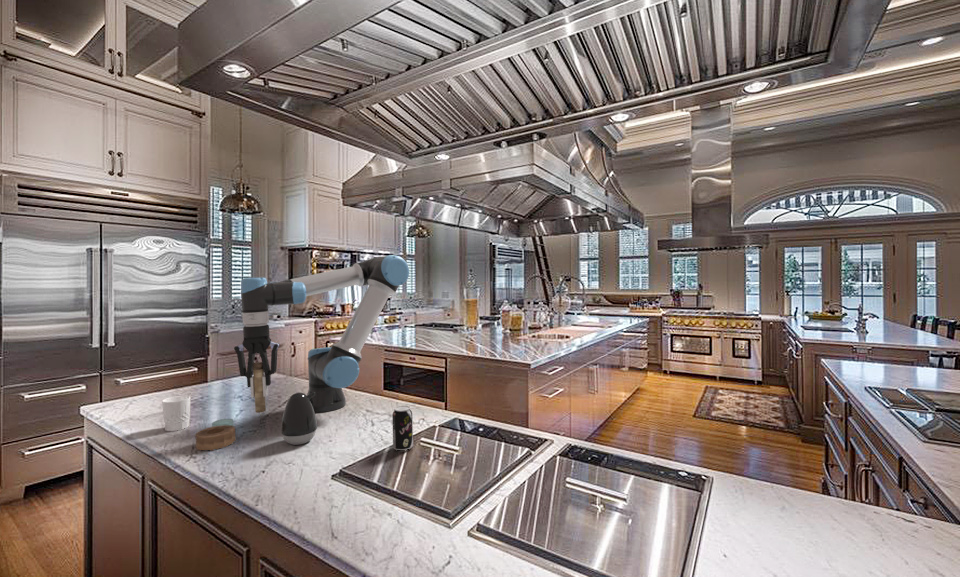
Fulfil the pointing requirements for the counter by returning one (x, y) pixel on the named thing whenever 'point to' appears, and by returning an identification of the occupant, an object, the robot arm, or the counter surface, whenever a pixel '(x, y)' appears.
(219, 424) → the small bead
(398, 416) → the beverage can
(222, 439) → the wooden peg base
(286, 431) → the black egg shaped speaker
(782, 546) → the counter surface
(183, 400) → the white cup
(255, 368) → the tan wooden rod
